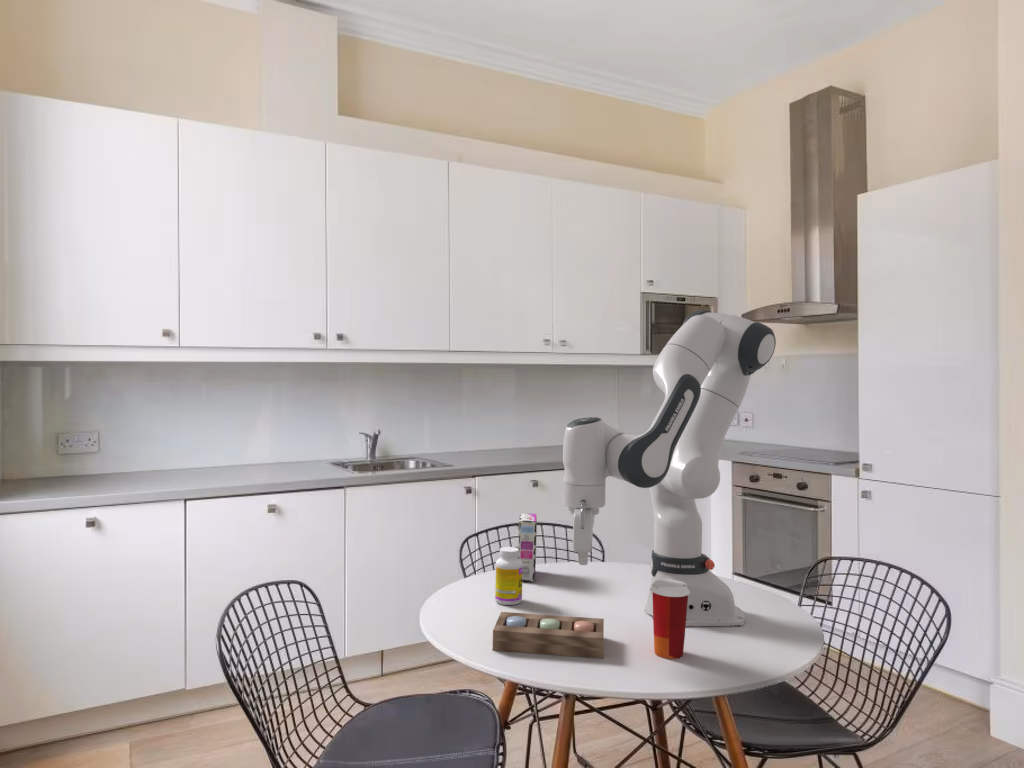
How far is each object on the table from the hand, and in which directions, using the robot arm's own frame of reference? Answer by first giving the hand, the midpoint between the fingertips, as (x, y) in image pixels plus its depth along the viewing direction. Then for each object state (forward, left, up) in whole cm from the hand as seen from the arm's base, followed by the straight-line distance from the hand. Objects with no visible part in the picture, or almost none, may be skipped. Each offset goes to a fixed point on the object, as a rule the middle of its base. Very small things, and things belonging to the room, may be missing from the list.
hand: (583, 563), depth 142 cm
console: (+7, +1, -17) cm, 18 cm away
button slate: (+14, +1, -15) cm, 20 cm away
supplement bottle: (+19, -23, -17) cm, 34 cm away
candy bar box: (+17, -45, -17) cm, 51 cm away
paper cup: (-17, +2, -17) cm, 24 cm away
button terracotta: (0, +1, -15) cm, 15 cm away
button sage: (+7, +1, -15) cm, 16 cm away
